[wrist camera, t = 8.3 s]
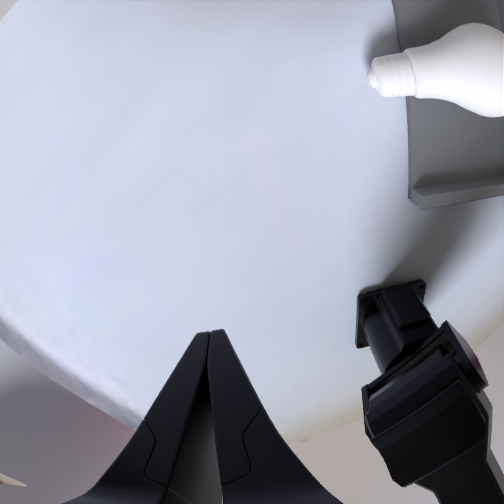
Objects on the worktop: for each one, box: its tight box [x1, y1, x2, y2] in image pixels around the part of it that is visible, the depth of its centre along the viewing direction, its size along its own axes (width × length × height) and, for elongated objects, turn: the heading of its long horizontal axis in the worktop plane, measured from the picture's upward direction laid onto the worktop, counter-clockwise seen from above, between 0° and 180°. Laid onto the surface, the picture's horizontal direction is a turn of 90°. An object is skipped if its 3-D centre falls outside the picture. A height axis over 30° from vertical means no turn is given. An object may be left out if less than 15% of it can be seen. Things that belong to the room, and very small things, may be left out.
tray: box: [392, 0, 504, 210], centre depth 15 cm, size 18×11×2 cm, turn 10°
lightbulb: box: [367, 23, 504, 117], centre depth 14 cm, size 6×6×11 cm
